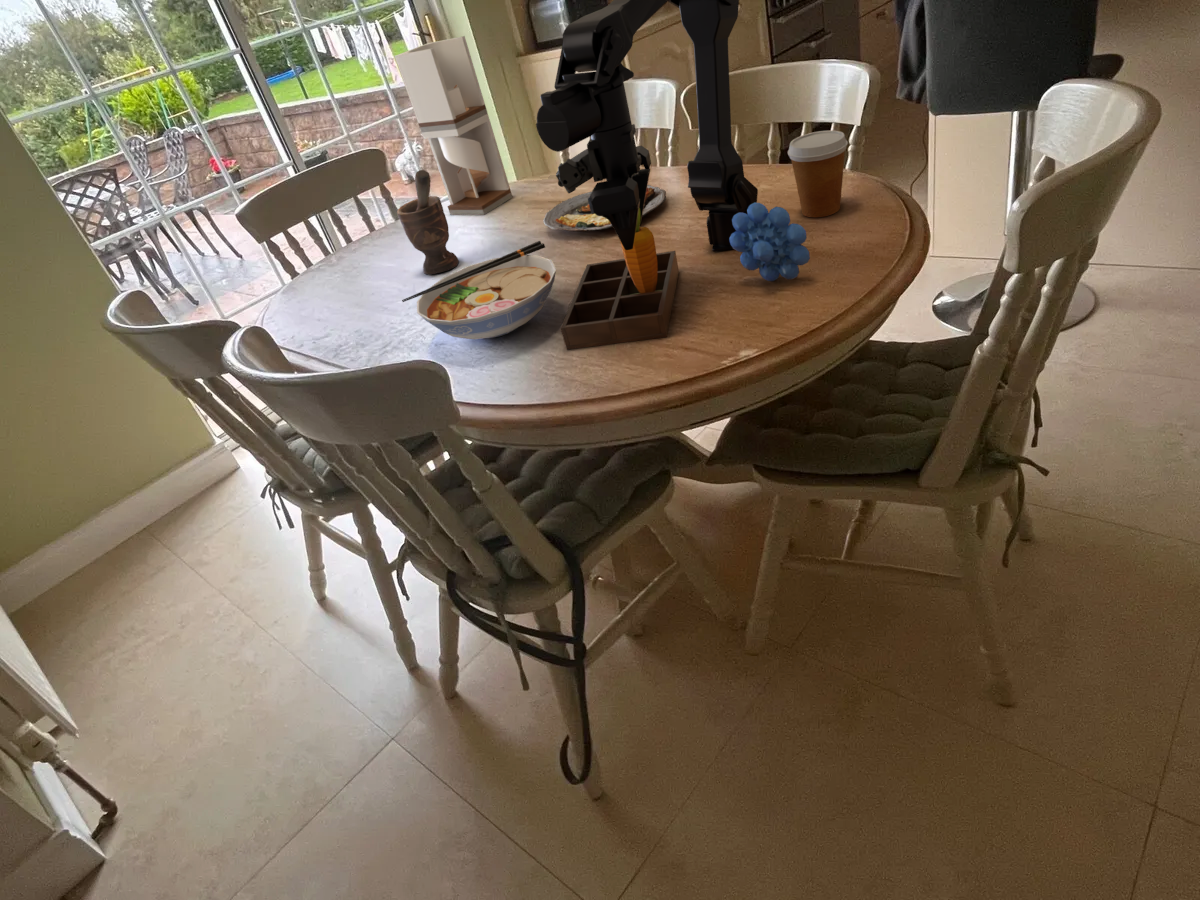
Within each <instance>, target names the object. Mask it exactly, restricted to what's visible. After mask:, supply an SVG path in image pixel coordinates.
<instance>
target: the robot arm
mask: <svg viewBox="0 0 1200 900" xmlns="http://www.w3.org/2000/svg"><path fill="white" fill-rule="evenodd" d="M667 2H668V3H669V4H671V5H673V6H675V7H676V8H679V13H680V19H681V25H682V27H683V28H684V30H685V32H686V34H687V35H688V37H689V39H690V40H691V42H692V44H693V53H694V54H693V56H694V69H695V87H696V88H695V89H696V108H697V126H698V143H699V144H698V145H699V146H698V147H699V148H698V150H697V152H696V154H695V157H694V158H693V160H689V161H688V163H687V166H686V169H687V174H688V183H687V188H688V189H690V194H691V197H692V199H694V202H695V204H696V206H697V208H698V210H699V211H700V212H702V211H707V212H708V216H706V217H707V218H706V228H707V235H708V241H709V242H708V243H709V245H710V246H712V248H711V249H712V252H713V253H716V252H722V251H728V250H729V251H730V250H734V249H733V248H732V246H731V244H730V240H729V238H730V236H731V234H732V233H734V232H736V230H735V228H734V227H733V224H732V219H733V216H734V215H735V214H737V213H739V212H741V213H746V214H747V215H748V213H747V209H748V207H749V206H750V205H751V204H753V203H754V202H756V203H758V196H759V195H758V193H759V191H758V188H757V187H756V186H755V185H754V184H753V183H752V182H751V181H749V179H747V178H746V177H745V171H744V163H743V159H742V158H741V157H740V155H739V153H738V151H737V149H736V147H735V146H734V145H733V142H732V118H731V114H732V113H731V91H730V90H731V89H730V88H731V87H730V63H729V62H730V61H729V38H730V35H731V34H732V31H733V29H734V26H735V24H736V22H737V20H738V17H739V4H740V0H611V2H610V3H608V5H607V6H605V7H603V8H601V9H598V10H596V11H594V12H591V13H588V14H586V15H583V16H582V17H580V18H578V19H575V20H574V21H572V22H571V23H569V24H568V25H567V26H566V27H565V28H564V30H563V32H562V39H563V40H562V46H561V50H560V51H561V52H560V54H559V60H558V65H557V70H556V76H555V80H554V81H555V82H554V90H552V91H550V90H549V91H546V92H545V91H544V92H543V93H541V94H540V96H539V97H540V101H541V106H540V107H539V108H538V111H537V113H536V123H535V126H536V127H535V128H536V131H537V135H538V136H539V138H540V140H541V141H542V142H543V144H544V145H545V146H546V147H547V148H548V149H550V150H551V151H554V152H556V153H558V152H559V153H560V152H562V151H564V150H566V149H568V148H570V147H572V146H574V145H576V144H578V143H580V142H582V141H583V140H586V139H588V138H589V140H588V141H587V144H586V149H584V150H582V151H581V152H580V153H578V154H576V155H574V156H573V157H572V158H567V159H566V161H564V162H561V163H560V164H559V165H558V166H557V171H556V173H555V177H556V178H557V181H558V182H557V185H558V187H560V188H563V187H564V189H565V191H566V192H567V194H572V193H573V192H575V191H576V189H577V188H578V187H580V186H582V185H583V184H585V183H586V182H588V181H590V180H591V179H593V182H594V183H596V182H597V183H596V184H595V186H594V187H593V189H592V190H591V191H592V192H591V191H590V192H591V194H590V196H589V198H588V202H589V206H590V211H591V213H593V214H596V215H597V216H602V217H604V218H606V219H608V220H609V221H610V223H611V224H612V226H613V227H612V228H613V231H614V232H615V233H616V236H617V237H618V239H619V242H620V241H621V242H620V244H621V243H622V245H623V247H624V248H625V250H631V249H633V245H634V239H635V232H636V225H637V218H638V211H639V208H640V225H641V223H642V220H643V217H642V214H643V208H644V202H645V197H646V191H647V185H649V180H650V174H651V165H652V159H651V155H650V150H649V149H647V148H646V147H644V146H643V145H638V146H637V145H636V139H635V135H636V133H637V129H636V125H635V123H632V120H631V119H632V118H631V113H630V108H629V103H628V98H627V91H626V88H625V83H624V82H626V81H629V80H631V79H633V78H634V76H635V73H634V72H633V70H631V69H629V68H628V67H626V66H624V65H623V64H622V62H623V61H624V60H625V58H626V56H627V55H628V53H629V52H630V51H631V49H632V48H633V44H634V43H633V41H634V36H635V35H636V33H637V32H638V31H639V29H641V28H642V27H643V25H645V23H647V22H648V21H649V20H650V19H651V18H652V17H653V16H654V15H655V14H656V13H657V12H658V11H660V10H661V9H662V7H663V6H664V5H666V3H667ZM641 166H643V167H644V168H641Z"/></svg>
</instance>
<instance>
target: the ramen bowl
mask: <svg viewBox="0 0 1200 900" xmlns="http://www.w3.org/2000/svg"><path fill="white" fill-rule="evenodd" d="M545 245H546V244H545V243H542V241H541V240H537V241H535V242H533V243H531V244H529V245H526V246H524V247H521V248H519V249H518V250H515V251H511V252H510V253H508V254H505V255H503V256H501V257H494V258H491V259H487V260H483V261H481V262H477V263H473V264H470V265H468V266H465V267H463V268H461V269H458V270H456V271H455V272H452V273H450V274H448V275H446V276H444V277H443V278H440V280H438V281H436V282H435V283H434V284H432V285H431V286H429V287H427V289H424V290H421V291H420V292H417V293H414V294H413V295H411V296H408V297H406V298H403V299H401V302H402V303H404V302H407V301H410V300H412V299H415V298H418V297H419V299H418V300H417V301H416V313H417V314H418V315H419V316H420V317H421V318H422V319H423V320H424V321H426V322H427V323H429V324H430V325H431V326H433V327H435V328H436V329H438V330H439V331H441V332H443V333H444V334H446V335H448V336H451V337H454V338H459V339H467V340H468V339H469V340H480V339H493V338H494V339H495V338H500V337H502V336H505V335H508V334H510V333H512V332H514V331H515V330H516V329H518V328H519V327H521V326H523V325H525V324H527V323H528V322H529V321H530V320H531V319H533V318H534V317H535V316H537V315H538V314H539V312H540V311H541V310H542V309H543V307H544V306H545V303H546V301H547V300H548V298H549V296H550V293H551V291H552V288H553V285H554V282H555V279H556V274H557V268H556V266H555V264H554V262H553V260H552V259H550V258H547V257H544V256H541V255H539V254H533V253H535V252H538V251H541V250H543V249H546V246H545Z"/></svg>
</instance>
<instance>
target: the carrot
mask: <svg viewBox="0 0 1200 900" xmlns="http://www.w3.org/2000/svg"><path fill="white" fill-rule="evenodd" d="M640 225H641V224H640V208H639V211H638V218H637V225H636V232H635V239H634V245H633V249H631V250H625V248H624V247H623V245H622V243H621V241H620V240H619V242H620V246H621V250H622V255H623V257H624V258H623V259H625V262H626V265H627V268H628V271H629V273H630V276H631V278H632V280H633V282H634V284H635V286H636V288H637V289H638V291H639V292H640V293H647V292H654V291H655V290H656V284H657V255H656V254H657V249H656V242H655V237H654V233H653V232H652V231H651V229H650V228H649V227H647V226H640Z"/></svg>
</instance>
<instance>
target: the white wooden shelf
mask: <svg viewBox="0 0 1200 900" xmlns="http://www.w3.org/2000/svg"><path fill="white" fill-rule="evenodd" d="M469 49H470V48H469V46H468V43H467V40H466V36H465V35H463V36H458V37H452V38H448V39H447V38H446V39H443V40H436V41H431V42H428V43H427V42H426V43H425V44H422V45H419V46H417V47H415V48H412V49H409V50H407V51H404V52H402V53H399V54H396V55H394V59H395V62H396V64H397V67H398V71H399V73H400V76H401V78H402V81H403V84H404V87H405V90H406V93H407V96H408V99H409V101H410V105H411V107H412V110H413V113H414V116H415V118H416V122H417V124H418V127H419V130H420V132H421V135H422V138H423V140H425V139H427V141H428V144H429V147H430V149H431V152H432V155H433V158H434V161H435V164H436V167H437V171H438V172H439V175H440V178H441V181H442V184H443V186H444V189H445V192H446V196H447V198H448V202H449V204H448V205H447V209H448V212H449V215H450V216H474V215H475V216H485V215H486V214H488V213H490V212H491V211H493V210H494V209H496V208H497V207H499V206H501V205H502V204H504V203H506V202H507V201H508V200H510V199H512V198H513V194H512V191H511V186H510V183H509V180H508V177H507V173H506V170H505V167H504V164H503V159H502V156H501V153H500V150H499V145H498V144H497V140H496V136H495V133H494V130H493V126H492V124H491V120H490V116H489V113H488V110H487V107H486V104H485V99H484V95H483V93H482V89H481V85H480V83H479V79H478V76H477V73H476V69H475V66H474V63H473V59H472V56H471V52H470V50H469Z"/></svg>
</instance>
